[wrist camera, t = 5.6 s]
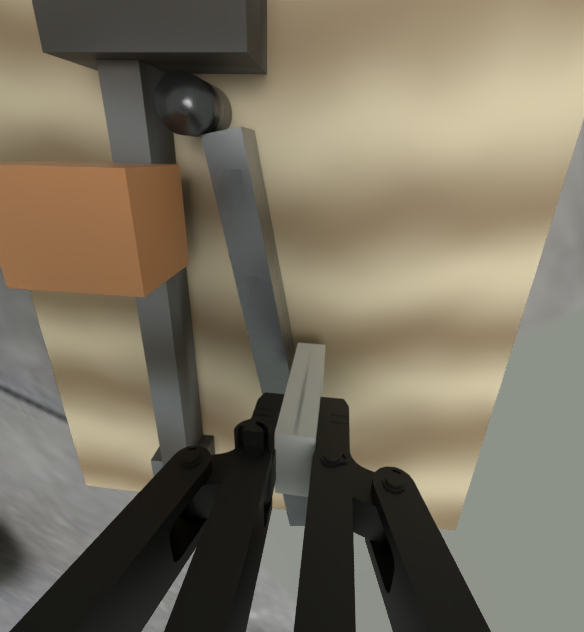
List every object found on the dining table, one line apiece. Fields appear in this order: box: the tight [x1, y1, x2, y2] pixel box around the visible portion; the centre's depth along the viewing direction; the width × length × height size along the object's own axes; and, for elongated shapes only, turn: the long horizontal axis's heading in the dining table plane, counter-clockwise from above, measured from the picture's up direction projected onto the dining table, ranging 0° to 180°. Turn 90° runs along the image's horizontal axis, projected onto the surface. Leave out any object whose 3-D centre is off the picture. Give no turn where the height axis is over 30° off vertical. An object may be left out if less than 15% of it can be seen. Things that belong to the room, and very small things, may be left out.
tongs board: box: [0, 0, 584, 530], centre depth 19 cm, size 28×26×5 cm
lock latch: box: [0, 161, 189, 297], centre depth 13 cm, size 4×5×4 cm
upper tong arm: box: [154, 70, 308, 526], centre depth 18 cm, size 24×4×3 cm, turn 10°
